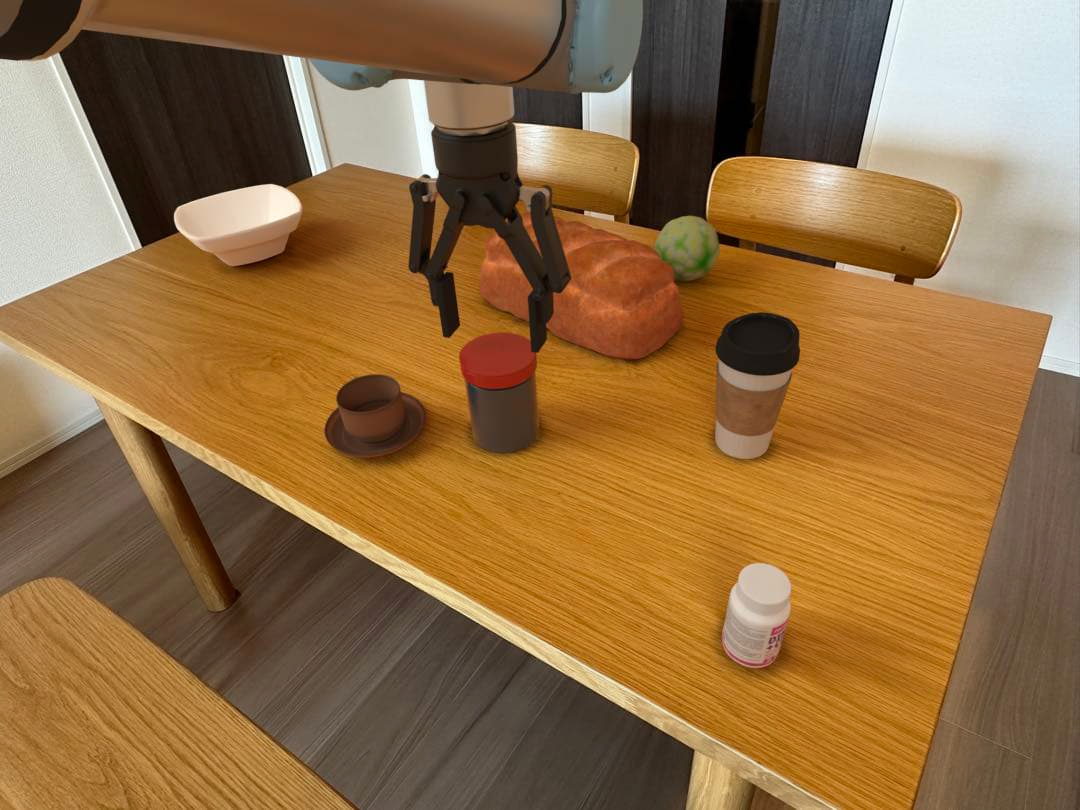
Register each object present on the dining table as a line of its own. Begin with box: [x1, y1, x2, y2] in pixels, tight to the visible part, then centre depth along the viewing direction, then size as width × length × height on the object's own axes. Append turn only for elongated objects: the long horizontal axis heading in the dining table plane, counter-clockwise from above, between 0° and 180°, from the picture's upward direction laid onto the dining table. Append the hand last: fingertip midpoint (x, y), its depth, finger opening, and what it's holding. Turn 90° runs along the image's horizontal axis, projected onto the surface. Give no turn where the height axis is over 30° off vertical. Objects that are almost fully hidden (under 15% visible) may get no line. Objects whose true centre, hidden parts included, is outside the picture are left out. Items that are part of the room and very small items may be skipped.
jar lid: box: [458, 331, 538, 389], centre depth 77 cm, size 9×8×2 cm
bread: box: [478, 211, 684, 361], centre depth 100 cm, size 16×31×13 cm, turn 47°
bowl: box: [173, 183, 304, 267], centre depth 123 cm, size 21×21×9 cm
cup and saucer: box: [324, 373, 427, 459], centre depth 82 cm, size 12×12×6 cm
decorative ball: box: [654, 215, 721, 283], centre depth 108 cm, size 10×10×10 cm
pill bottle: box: [721, 562, 792, 669], centre depth 57 cm, size 5×5×8 cm
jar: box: [463, 371, 540, 454], centre depth 80 cm, size 8×8×10 cm
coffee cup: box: [714, 311, 801, 460], centre depth 75 cm, size 8×8×15 cm
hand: (494, 338), depth 75 cm, fingers open, 10 cm apart
